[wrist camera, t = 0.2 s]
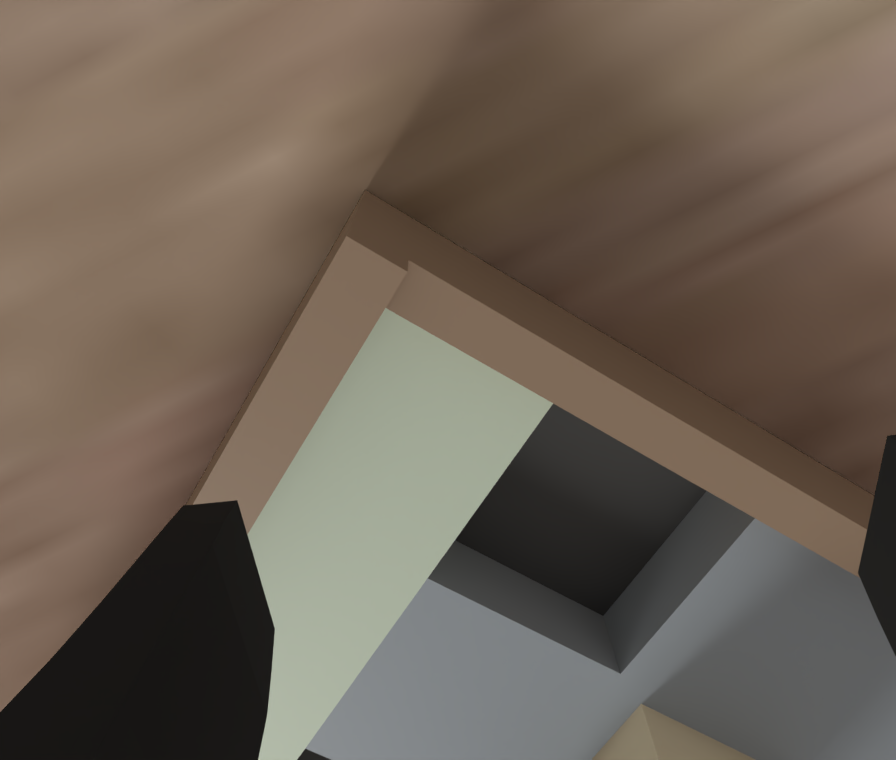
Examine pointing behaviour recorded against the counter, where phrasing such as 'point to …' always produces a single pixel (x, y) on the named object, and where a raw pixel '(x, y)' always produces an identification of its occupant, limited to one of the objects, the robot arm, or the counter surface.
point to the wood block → (662, 741)
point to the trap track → (531, 533)
